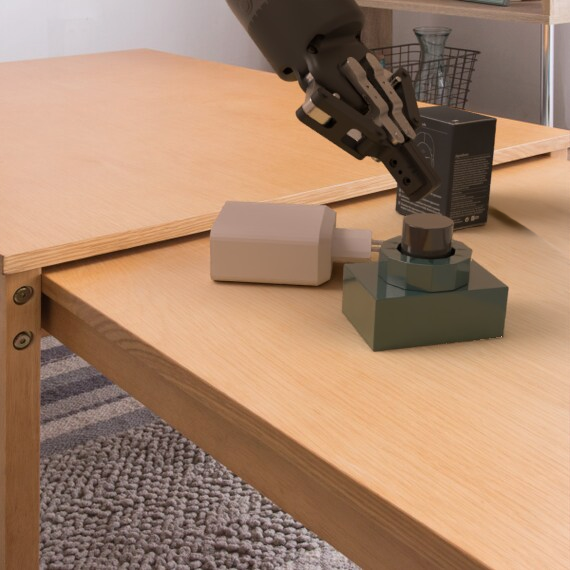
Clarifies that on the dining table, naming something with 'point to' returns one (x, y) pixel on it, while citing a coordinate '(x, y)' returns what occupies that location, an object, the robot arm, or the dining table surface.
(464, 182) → the box
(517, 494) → the dining table surface
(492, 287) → the base
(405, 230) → the brown push button
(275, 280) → the charger
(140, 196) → the dining table surface
